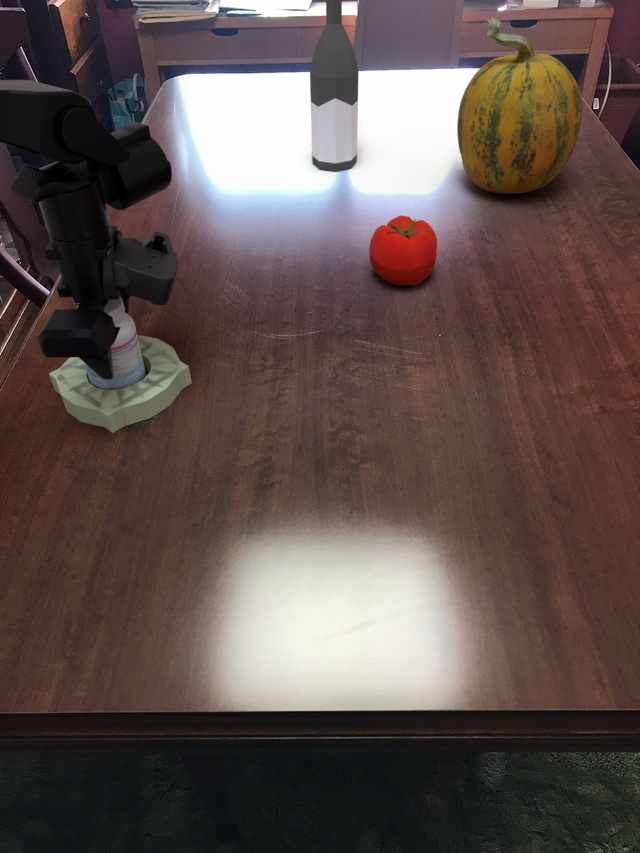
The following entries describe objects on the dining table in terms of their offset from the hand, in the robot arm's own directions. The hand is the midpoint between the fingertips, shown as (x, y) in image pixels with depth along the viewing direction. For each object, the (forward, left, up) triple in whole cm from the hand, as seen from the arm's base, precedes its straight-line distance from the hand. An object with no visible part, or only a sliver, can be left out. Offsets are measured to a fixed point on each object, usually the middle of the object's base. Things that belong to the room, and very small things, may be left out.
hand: (115, 360), depth 76 cm
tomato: (+40, -10, -4) cm, 42 cm away
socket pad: (0, 0, -4) cm, 4 cm away
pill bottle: (0, 0, -4) cm, 4 cm away
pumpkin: (+75, -6, -4) cm, 75 cm away
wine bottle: (+64, +23, -4) cm, 68 cm away
